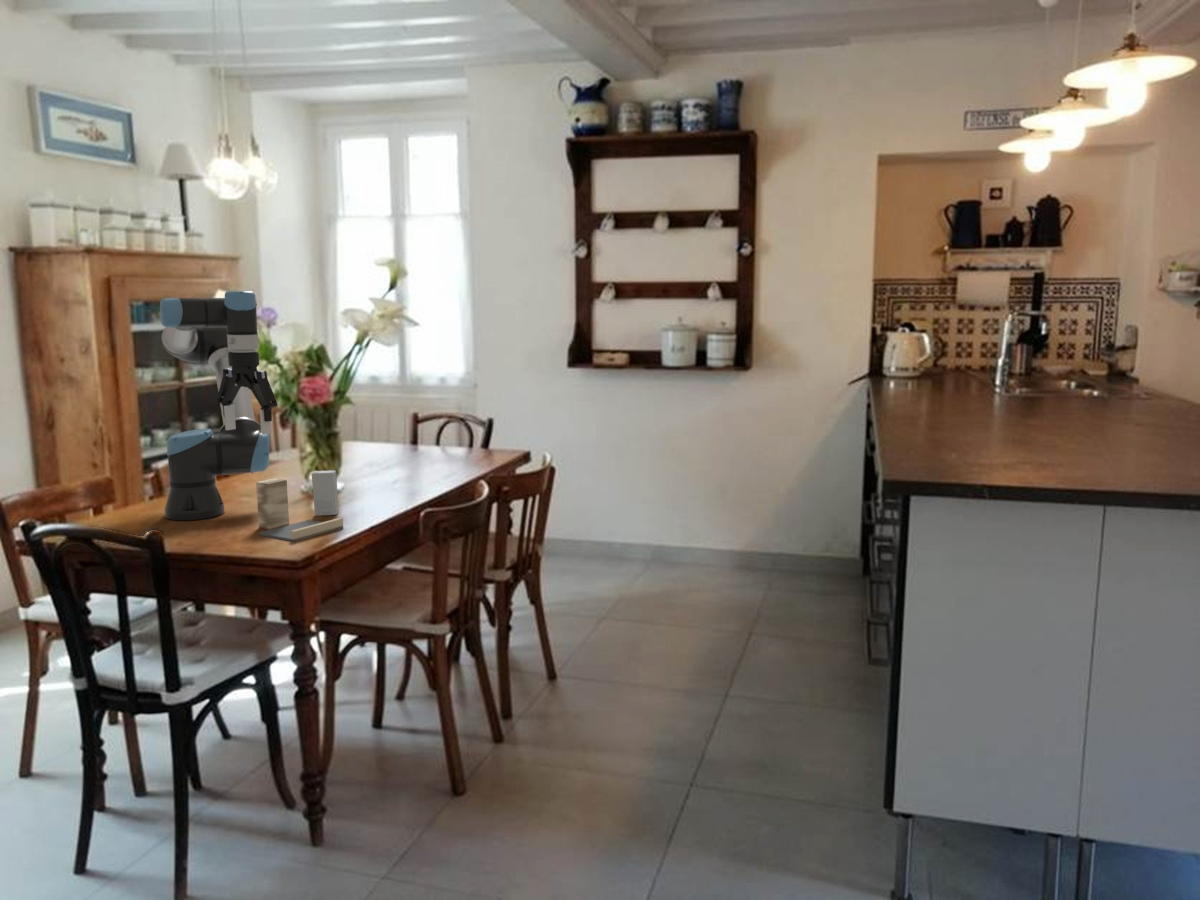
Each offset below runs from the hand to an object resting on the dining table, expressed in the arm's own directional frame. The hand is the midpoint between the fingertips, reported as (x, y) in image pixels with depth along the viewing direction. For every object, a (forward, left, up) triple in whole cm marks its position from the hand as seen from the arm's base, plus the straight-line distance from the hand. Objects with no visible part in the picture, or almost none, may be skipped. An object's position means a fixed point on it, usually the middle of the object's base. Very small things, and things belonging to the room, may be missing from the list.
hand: (248, 431), depth 240 cm
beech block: (+9, -1, -25) cm, 26 cm away
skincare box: (+10, +16, -25) cm, 31 cm away
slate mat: (+19, -1, -24) cm, 31 cm away
